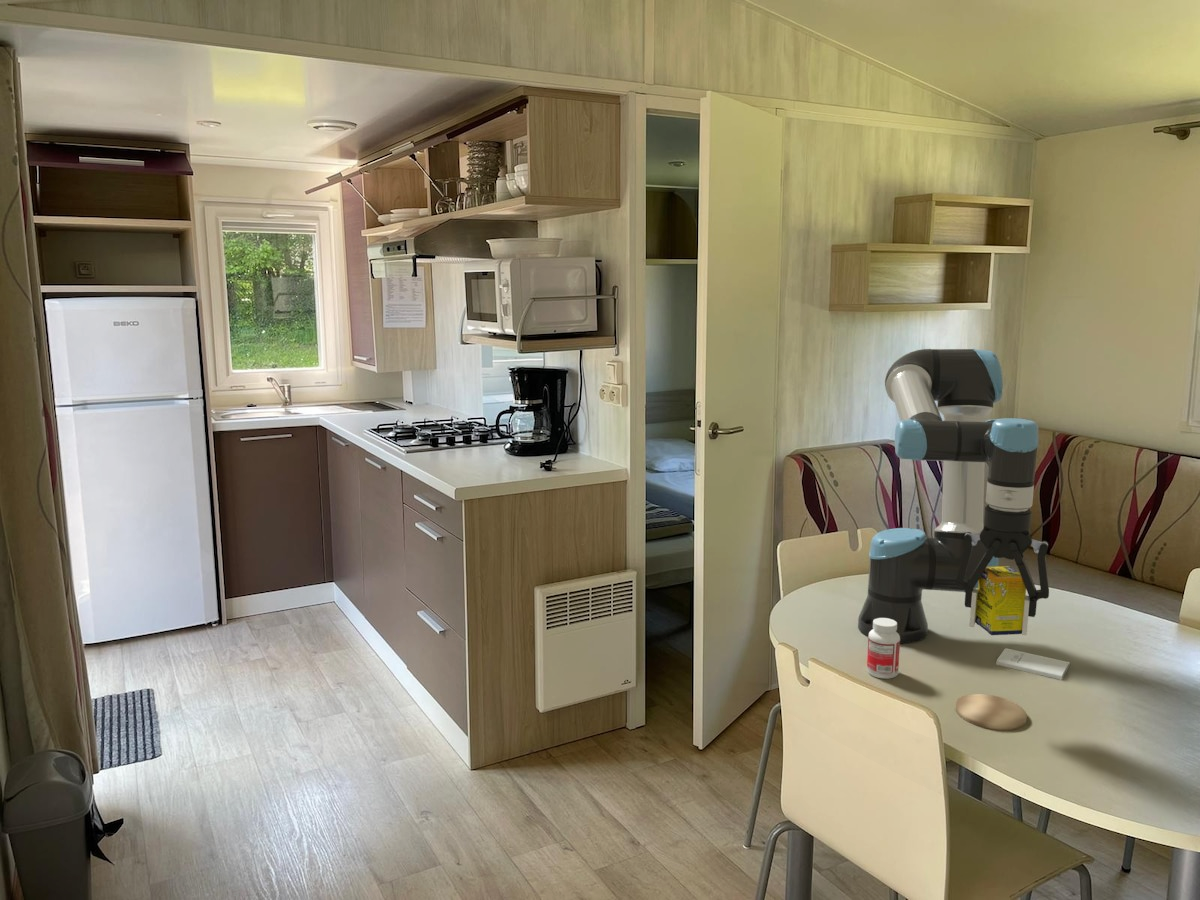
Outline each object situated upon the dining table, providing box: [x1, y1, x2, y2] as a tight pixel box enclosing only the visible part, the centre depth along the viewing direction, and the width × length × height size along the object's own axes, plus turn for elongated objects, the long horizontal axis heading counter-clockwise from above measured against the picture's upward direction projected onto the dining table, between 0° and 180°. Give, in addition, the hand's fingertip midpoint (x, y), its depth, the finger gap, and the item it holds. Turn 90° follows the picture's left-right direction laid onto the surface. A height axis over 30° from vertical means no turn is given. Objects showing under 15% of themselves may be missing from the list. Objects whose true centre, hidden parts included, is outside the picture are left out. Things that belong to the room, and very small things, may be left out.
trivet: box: [955, 693, 1028, 731], centre depth 165 cm, size 12×12×1 cm
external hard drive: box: [995, 647, 1071, 681], centre depth 186 cm, size 2×8×12 cm
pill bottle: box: [866, 618, 901, 680], centre depth 181 cm, size 6×6×11 cm
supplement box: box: [975, 565, 1027, 636], centre depth 161 cm, size 6×6×11 cm
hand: (998, 628), depth 162 cm, fingers closed on supplement box, 8 cm apart
